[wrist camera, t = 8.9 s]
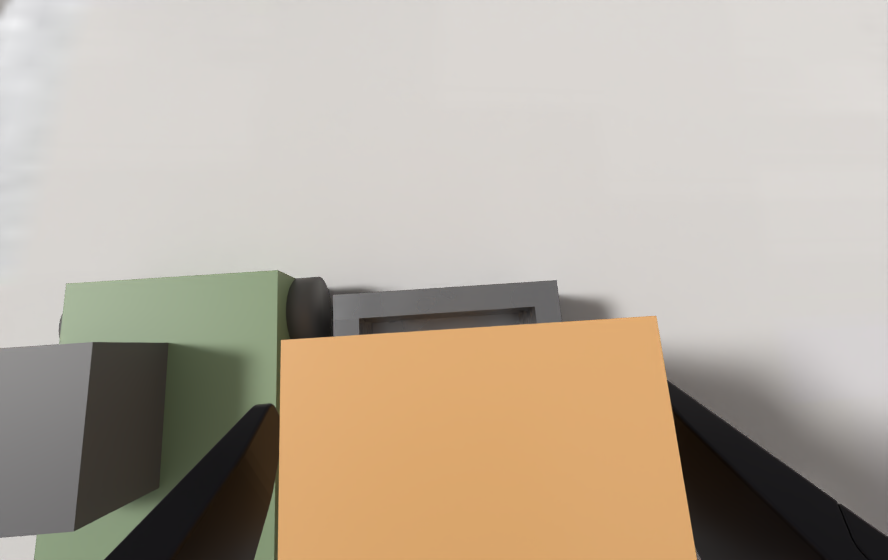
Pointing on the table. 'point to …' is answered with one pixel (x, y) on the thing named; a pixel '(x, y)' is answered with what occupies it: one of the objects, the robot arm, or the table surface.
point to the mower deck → (199, 372)
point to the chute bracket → (446, 308)
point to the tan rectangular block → (481, 445)
